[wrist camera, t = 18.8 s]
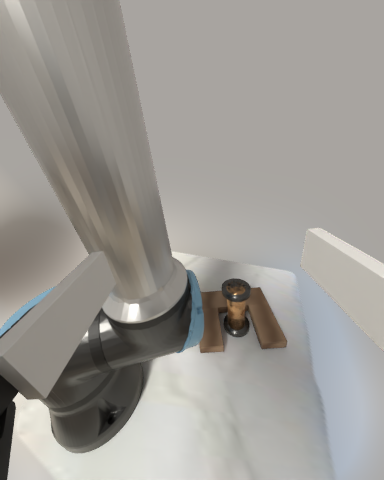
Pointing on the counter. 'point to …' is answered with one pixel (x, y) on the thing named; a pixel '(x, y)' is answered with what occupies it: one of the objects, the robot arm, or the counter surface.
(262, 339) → the notched board
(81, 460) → the counter surface
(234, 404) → the counter surface
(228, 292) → the bobbin
